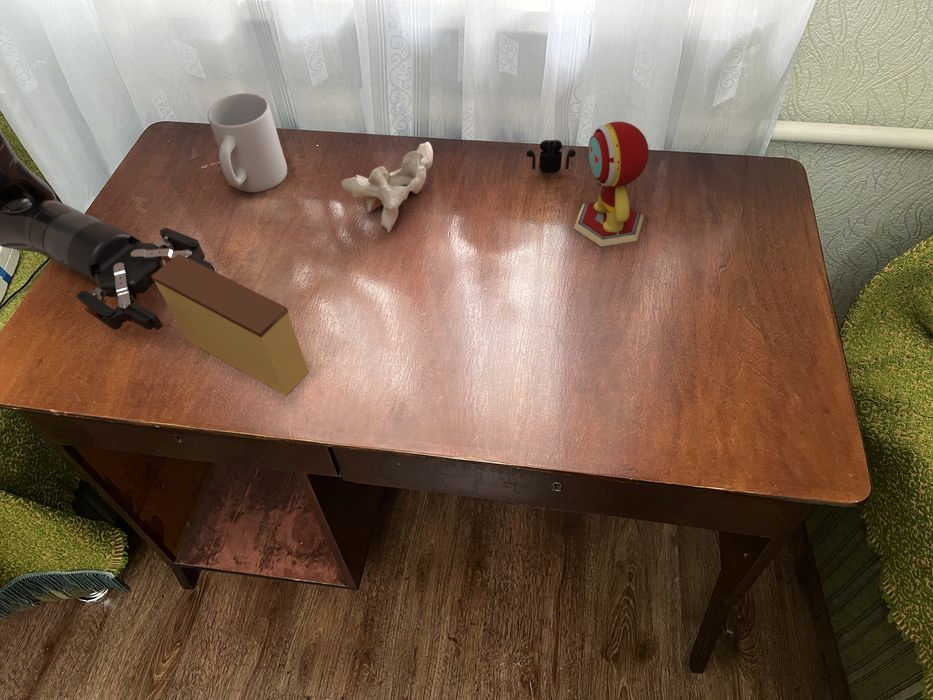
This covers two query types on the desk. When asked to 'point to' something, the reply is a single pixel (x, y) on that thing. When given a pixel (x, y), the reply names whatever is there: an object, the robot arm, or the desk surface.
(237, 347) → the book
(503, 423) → the desk surface
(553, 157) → the wireless earbuds
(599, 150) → the figurine
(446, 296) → the desk surface
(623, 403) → the desk surface
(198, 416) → the desk surface
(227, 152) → the mug
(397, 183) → the decorative object
